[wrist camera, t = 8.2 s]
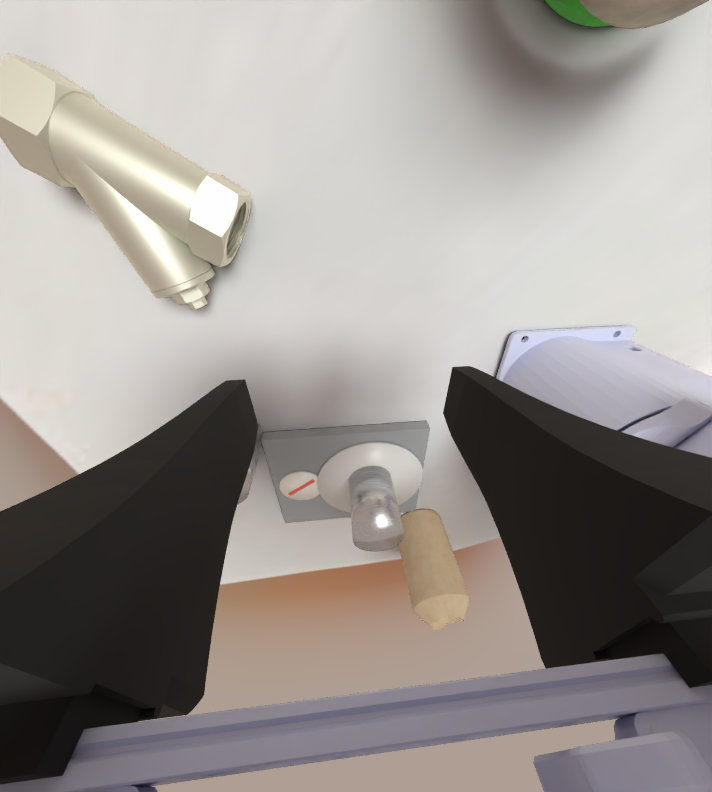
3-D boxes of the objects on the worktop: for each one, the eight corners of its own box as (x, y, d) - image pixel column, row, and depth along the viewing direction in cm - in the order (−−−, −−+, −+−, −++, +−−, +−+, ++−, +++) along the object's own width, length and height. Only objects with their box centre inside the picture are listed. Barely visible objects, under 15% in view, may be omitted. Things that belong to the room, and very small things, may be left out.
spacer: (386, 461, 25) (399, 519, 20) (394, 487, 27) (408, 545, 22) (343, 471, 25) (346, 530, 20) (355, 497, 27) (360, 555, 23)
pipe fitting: (224, 305, 18) (257, 193, 14) (200, 332, 15) (235, 198, 11) (73, 234, 15) (68, 74, 12) (6, 249, 12) (-29, 38, 9)
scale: (426, 420, 24) (431, 431, 23) (412, 502, 31) (416, 514, 30) (263, 432, 23) (259, 444, 22) (286, 514, 30) (284, 526, 29)
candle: (411, 538, 36) (436, 639, 27) (385, 523, 33) (405, 628, 25) (448, 520, 34) (487, 621, 26) (424, 502, 31) (459, 608, 23)
